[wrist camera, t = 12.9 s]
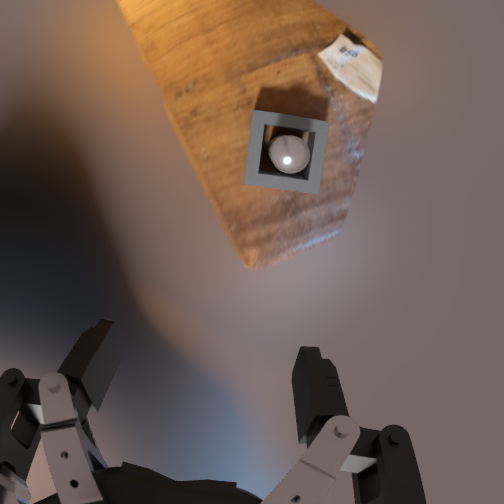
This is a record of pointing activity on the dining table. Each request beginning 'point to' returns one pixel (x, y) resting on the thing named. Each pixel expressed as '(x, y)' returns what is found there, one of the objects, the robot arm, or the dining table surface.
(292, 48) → the dining table surface
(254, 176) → the box
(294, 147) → the peg
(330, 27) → the dining table surface
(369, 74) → the dining table surface
